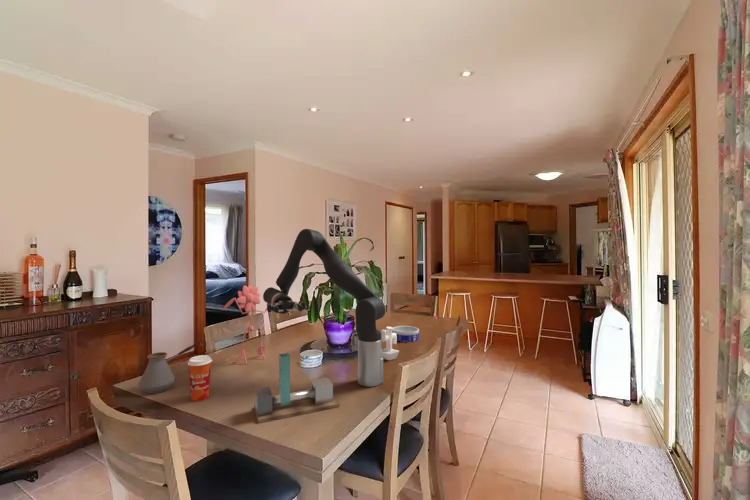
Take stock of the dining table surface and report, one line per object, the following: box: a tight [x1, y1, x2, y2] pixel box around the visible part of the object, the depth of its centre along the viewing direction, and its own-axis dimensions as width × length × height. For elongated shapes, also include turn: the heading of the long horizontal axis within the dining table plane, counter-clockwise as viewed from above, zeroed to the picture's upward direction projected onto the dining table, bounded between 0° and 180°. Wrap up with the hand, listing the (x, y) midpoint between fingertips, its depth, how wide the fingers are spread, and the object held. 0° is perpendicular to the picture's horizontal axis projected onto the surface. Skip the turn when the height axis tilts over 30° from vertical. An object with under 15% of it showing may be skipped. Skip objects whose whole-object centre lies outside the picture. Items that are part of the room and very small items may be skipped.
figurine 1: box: [221, 284, 277, 365], centre depth 164 cm, size 15×26×35 cm, turn 141°
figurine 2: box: [381, 326, 400, 362], centre depth 165 cm, size 7×9×15 cm
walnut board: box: [253, 395, 340, 424], centre depth 116 cm, size 26×11×1 cm, turn 115°
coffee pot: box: [138, 341, 203, 394], centre depth 133 cm, size 21×12×15 cm, turn 133°
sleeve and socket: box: [254, 377, 334, 418], centre depth 116 cm, size 24×7×6 cm, turn 115°
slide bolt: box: [272, 352, 315, 406], centre depth 115 cm, size 19×3×16 cm, turn 115°
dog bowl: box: [392, 325, 420, 343], centre depth 199 cm, size 15×15×6 cm
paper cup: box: [187, 354, 213, 402], centre depth 123 cm, size 8×8×14 cm
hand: (289, 309), depth 129 cm, fingers open, 8 cm apart
